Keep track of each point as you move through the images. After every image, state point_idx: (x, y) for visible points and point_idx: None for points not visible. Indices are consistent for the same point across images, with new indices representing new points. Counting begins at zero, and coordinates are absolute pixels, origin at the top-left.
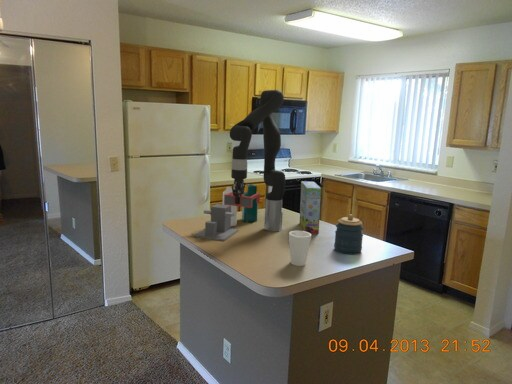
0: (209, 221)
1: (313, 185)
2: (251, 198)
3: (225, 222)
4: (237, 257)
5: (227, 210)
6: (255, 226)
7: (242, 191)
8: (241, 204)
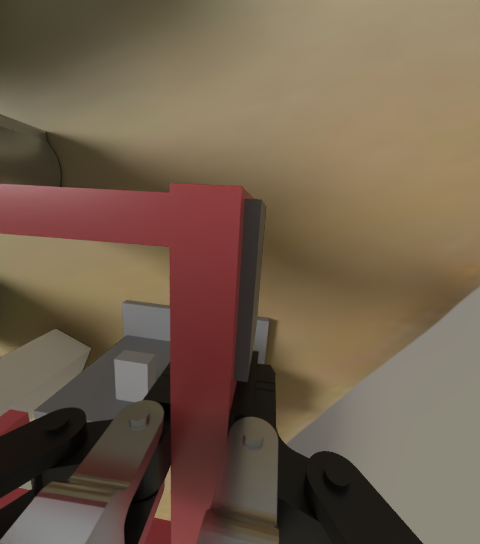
0: None
1: None
2: (243, 190)
3: (159, 366)
4: (462, 210)
5: (103, 404)
6: (30, 253)
7: (40, 466)
8: (256, 323)
